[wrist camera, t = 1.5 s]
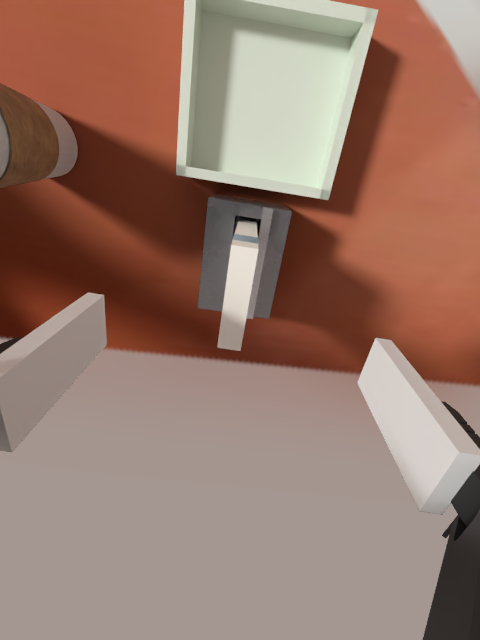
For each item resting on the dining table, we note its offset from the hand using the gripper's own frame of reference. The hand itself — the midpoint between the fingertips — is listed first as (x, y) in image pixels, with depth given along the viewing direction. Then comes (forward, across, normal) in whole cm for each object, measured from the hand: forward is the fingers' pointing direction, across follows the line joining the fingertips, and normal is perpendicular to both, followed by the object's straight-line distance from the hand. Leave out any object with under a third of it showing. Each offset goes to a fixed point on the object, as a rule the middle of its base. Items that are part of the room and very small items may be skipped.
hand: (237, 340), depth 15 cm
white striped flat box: (+19, 0, 0) cm, 19 cm away
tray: (+20, 0, +13) cm, 23 cm away
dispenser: (+20, 0, 0) cm, 20 cm away
